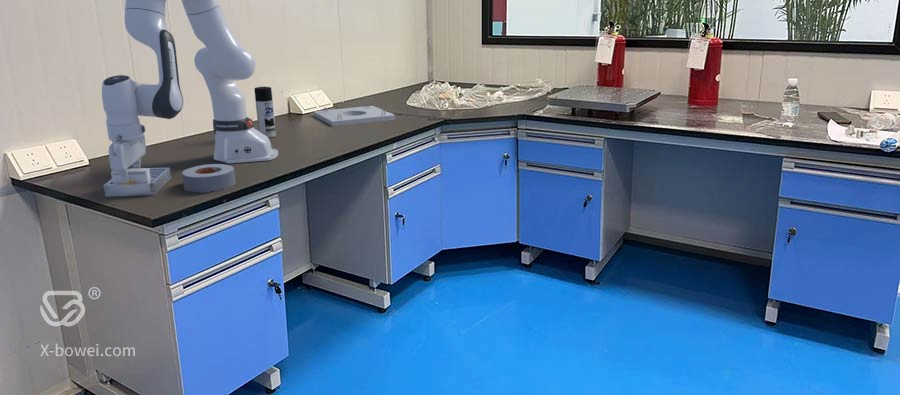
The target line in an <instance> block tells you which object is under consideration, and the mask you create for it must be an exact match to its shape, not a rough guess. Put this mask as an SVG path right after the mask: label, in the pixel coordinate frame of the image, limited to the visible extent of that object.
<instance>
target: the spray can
mask: <svg viewBox="0 0 900 395" xmlns="http://www.w3.org/2000/svg"><path fill="white" fill-rule="evenodd" d="M254 99H255V108H256V119H257V127H258V128H257V130H258V131H259V132H261V133H262V134H264V135H266V136H267V137H268V138H269V139H271V138H275V137H276V136H277V134H276V122H275V121H276V120H275V111H274V103H273V102H274V100H273V92H272V87H270V86H256V87H255V88H254Z"/></svg>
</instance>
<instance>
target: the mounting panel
mask: <svg viewBox="0 0 900 395" xmlns="http://www.w3.org/2000/svg"><path fill="white" fill-rule="evenodd" d="M367 105H368V106H367ZM313 117H315V118H317V119H318V120H320V121H322V122H324V123H326V124H327V125H329V126H332V127H338V126H339V127H341V126H349V125H358V124H369V123H376V122H378V123H379V122H387V121H395V120H396V114H394V113H391V112H389V111H386V109H382V108H380V107H376V106H374V105H369V103H366V104H365V106H356V107H346V108H344V107H343V108H335V109H328V108H327V107H324V109H323V110H316V111H315V110H314V111H313Z"/></svg>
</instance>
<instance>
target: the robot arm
mask: <svg viewBox="0 0 900 395" xmlns="http://www.w3.org/2000/svg"><path fill="white" fill-rule="evenodd" d="M166 1H167V0H125V7H124V27H125V29H126V31H127V33H128V34H129V36H131V37H132V38H133V39H134V40H136V41H137V42H139V43H141V44H143V45H145V46H147V47H149V48H150V49H152V50H153V52H154V53H155V55H156V58H157V59H156V61H157V68H158V69H157V70H158V79H159V80H158V84H150V83H149V84H147V83H140V82H137V81H134V80H132V79H131V77H130V76H129V75H124V74H120V75H114V76H113V75H112V76H110V77H107V78H105V79H104V80H103V81H102V84H101V98H102V100H101V101H102V107H103V110H104V113H105V115H106V119H105V120H106V122H105V126H106V128H107V129H106V130H107V135H108V140H109V141H111V142H112V143H111V144H110V145H109V147H108V157H109V159H108V160H109V166H110V167H109V168H110V169H111V171H118V172H119V174H120V176H121V178H122V182H123V183H128V182H129V181H130V176H128V173H127V171H128V170H127V169H129V168H130V167H131V166H132V168H131V169H137V168H141V163H142V157H144V156H145V155H146V153H147V145H146V136H145V132H146V126H145V124H142V123H141V122H140V118H139V116H140V117H150V118H151V117H152V118H153V117H154V118H159V119H166V120H172V119H173V118H175V117H177V116H178V115H179V113H180V112H181V111H182V109H183V108H184V107H183V106H184V97H183V94H182V91H181V85H180V77H179V76H180V75H179V67H178V59H177V58H178V56H177V48H176V43H175V39H174V36H173V34H172V33H171V32H169V30H168V27H167V23H166V3H167V2H166ZM181 2H182V6H183V9H184V12H185V14H186V17H187V19H188V20H189V23H190V27H191V28H192V31H193V33H194V36H195V37H196V38H197V39H198V40H199V41H200V42H201V43H202V44H203V45H204V46H205V47H201V48H200V49H198V50H197V51H196V53H195V55H194V61H193V62H194V66H195V68H196V70H197V71H198V72H199V73H200V74H201V75H202V77H203V80H204V81H205V84H206V87H207V89H208V91H209V96H210V99H211V106H212V113H213V119H212V126H213V133H214V137H215V139H214V141H215V142H214V152H213V154H214V155H213V160H215V161H219V162H223V163H225V164H238V163H240V164H241V163H250V162H251V163H252V162H264V161H265V162H266V161H272V160H274V159H276V158H277V157H279V151H278V149H276V148H273V146H272V143H271V140H270V138H268V137H267V136H266V135H264V134H262V133H261V132H259V130H258V129H257V128H254V122H253V120H254V119H253V118H250V117H248V116H247V109H246V100H245V95H244V94H243V92H242V91H241V90H240V88H239V87H238V85H237V82H238V81H242V80H246V79H249V78H251V77H252V76H253V74H254V73H255V70H256V62H255V58H254V57H253V55H252V54H251V53H250V52H248V51H247V50H246V49H245V48H244V46H242V44H241V43H240V42H239V41H238V39H237V38H236V36H235V35H234V33H233V31H232V30H231V27H229V24H228V22H227V20H226V18H225V15H224V13H223V10H222V8H221V4H220V3H219V0H181ZM236 81H237V82H236Z"/></svg>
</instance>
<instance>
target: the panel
mask: <svg viewBox="0 0 900 395" xmlns="http://www.w3.org/2000/svg"><path fill="white" fill-rule="evenodd" d="M149 168H150V167H149ZM149 168H148V167H147V168H145V167H144V168H143V167H140V168H137V169H132V168H127V170H128V171H127V173H128V176H130V181H129V182H132V181H135V183H151V176H150V169H149ZM110 175H111V179H112V181H113V184H123V182H122V178H121V176H120V174H119V172H118V171H112V170H111V171H110Z"/></svg>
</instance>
